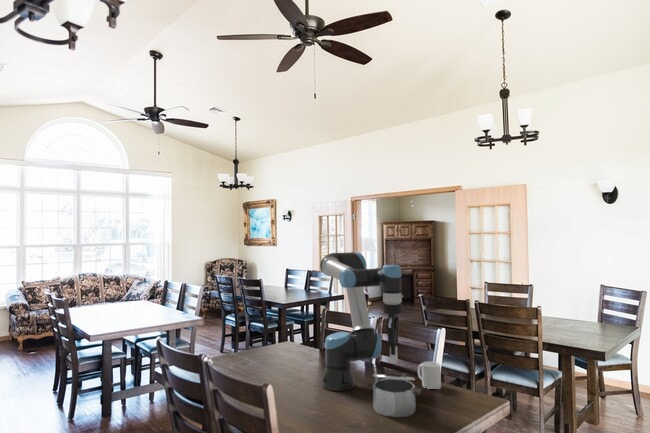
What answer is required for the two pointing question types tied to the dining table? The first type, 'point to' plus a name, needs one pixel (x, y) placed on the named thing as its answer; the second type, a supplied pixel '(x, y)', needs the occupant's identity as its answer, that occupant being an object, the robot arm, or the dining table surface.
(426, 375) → the cup
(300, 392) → the dining table surface
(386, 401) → the pot
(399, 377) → the lid
